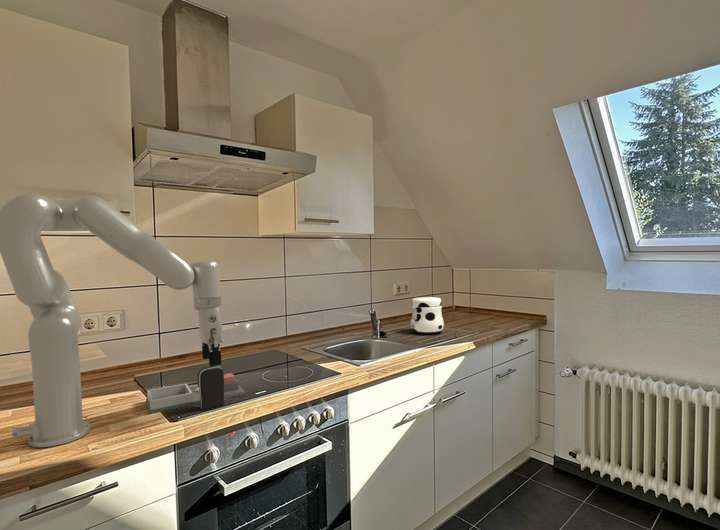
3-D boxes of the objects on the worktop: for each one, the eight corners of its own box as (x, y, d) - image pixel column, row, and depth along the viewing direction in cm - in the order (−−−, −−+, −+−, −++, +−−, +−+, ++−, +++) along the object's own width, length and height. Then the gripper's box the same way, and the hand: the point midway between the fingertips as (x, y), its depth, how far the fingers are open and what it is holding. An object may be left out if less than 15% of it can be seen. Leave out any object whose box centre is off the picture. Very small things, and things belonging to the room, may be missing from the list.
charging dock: (149, 414, 116) (148, 401, 115) (146, 401, 126) (145, 390, 126) (245, 394, 130) (244, 383, 129) (235, 384, 140) (234, 374, 140)
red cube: (222, 391, 130) (222, 378, 130) (219, 387, 133) (219, 375, 133) (235, 388, 132) (234, 376, 132) (232, 385, 135) (231, 373, 135)
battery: (220, 401, 124) (219, 363, 124) (225, 404, 121) (224, 366, 121) (197, 407, 120) (195, 368, 119) (201, 411, 117) (200, 371, 116)
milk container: (448, 330, 222) (447, 297, 221) (436, 336, 207) (435, 301, 206) (418, 328, 231) (418, 296, 230) (405, 334, 216) (404, 300, 216)
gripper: (228, 304, 114) (232, 365, 115) (214, 299, 129) (218, 353, 130) (199, 308, 110) (204, 371, 111) (189, 302, 125) (193, 358, 126)
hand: (211, 361), depth 120 cm, fingers open, 9 cm apart
